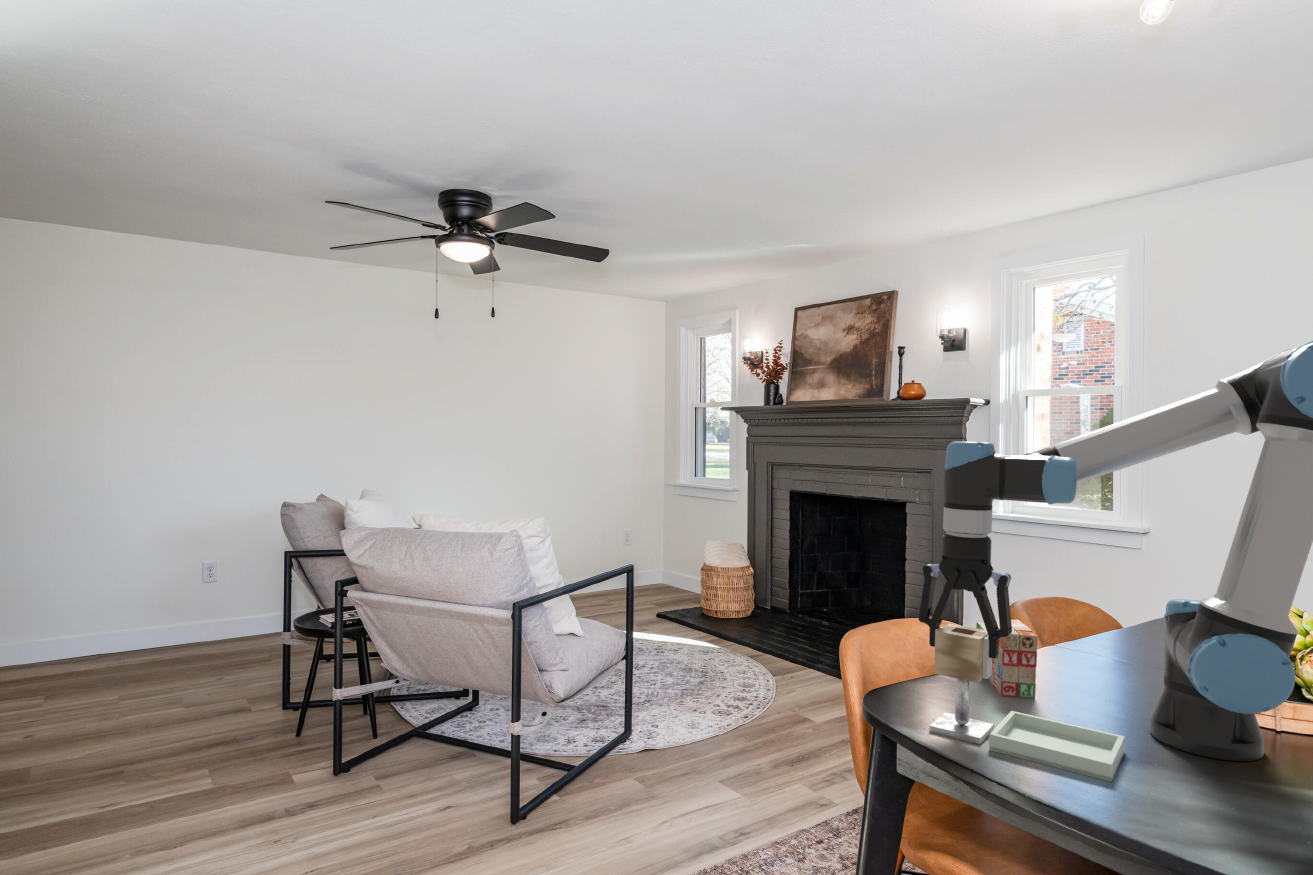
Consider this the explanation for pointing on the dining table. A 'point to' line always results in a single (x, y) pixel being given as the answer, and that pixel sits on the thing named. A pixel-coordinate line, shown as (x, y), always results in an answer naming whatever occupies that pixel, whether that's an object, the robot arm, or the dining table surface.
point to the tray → (1059, 745)
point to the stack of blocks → (1015, 662)
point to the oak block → (959, 652)
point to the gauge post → (962, 719)
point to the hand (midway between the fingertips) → (962, 671)
